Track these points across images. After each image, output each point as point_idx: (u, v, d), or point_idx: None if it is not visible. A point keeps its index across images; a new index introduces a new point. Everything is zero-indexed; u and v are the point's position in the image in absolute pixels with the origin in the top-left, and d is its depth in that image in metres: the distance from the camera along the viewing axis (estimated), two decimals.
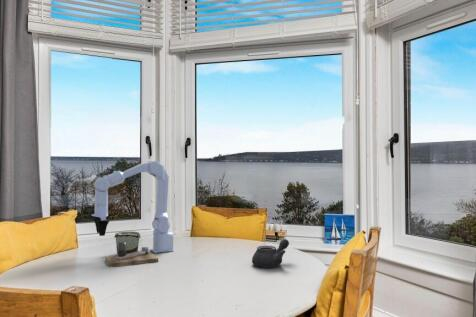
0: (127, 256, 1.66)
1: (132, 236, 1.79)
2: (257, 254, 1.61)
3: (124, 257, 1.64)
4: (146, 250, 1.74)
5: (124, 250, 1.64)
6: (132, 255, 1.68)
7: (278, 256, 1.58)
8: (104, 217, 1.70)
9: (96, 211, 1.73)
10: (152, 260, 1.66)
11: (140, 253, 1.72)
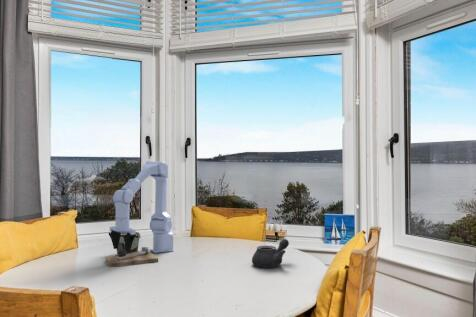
0: (127, 256, 1.66)
1: None
2: (257, 254, 1.61)
3: (124, 257, 1.64)
4: (146, 250, 1.74)
5: (124, 250, 1.64)
6: (132, 255, 1.68)
7: (278, 256, 1.58)
8: (134, 231, 1.61)
9: (120, 225, 1.62)
10: (152, 260, 1.66)
11: (140, 253, 1.72)
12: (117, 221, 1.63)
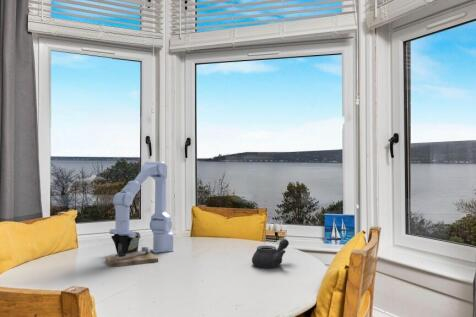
0: (127, 256, 1.66)
1: None
2: (257, 254, 1.61)
3: (124, 257, 1.64)
4: (146, 250, 1.74)
5: None
6: (132, 255, 1.68)
7: (278, 256, 1.58)
8: (134, 234, 1.61)
9: (120, 228, 1.62)
10: (152, 260, 1.66)
11: (140, 253, 1.72)
12: (117, 224, 1.63)
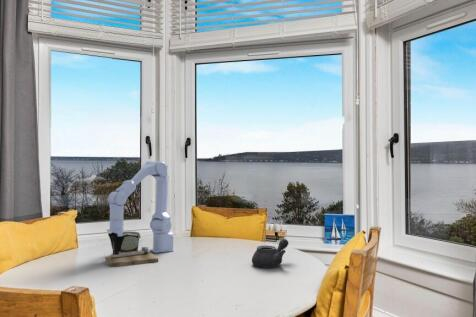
0: (121, 255, 1.68)
1: (132, 236, 1.79)
2: (257, 254, 1.61)
3: (118, 255, 1.67)
4: (145, 250, 1.74)
5: None
6: (127, 254, 1.70)
7: (278, 256, 1.58)
8: (121, 233, 1.63)
9: (112, 226, 1.67)
10: (152, 260, 1.66)
11: (137, 253, 1.72)
12: (110, 222, 1.68)
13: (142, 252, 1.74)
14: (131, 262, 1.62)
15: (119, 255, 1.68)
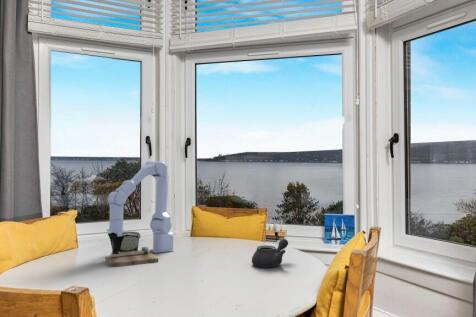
0: (121, 254, 1.69)
1: (132, 236, 1.79)
2: (257, 254, 1.61)
3: (117, 255, 1.68)
4: (145, 250, 1.74)
5: None
6: (127, 254, 1.70)
7: (278, 256, 1.58)
8: (120, 233, 1.63)
9: (111, 226, 1.67)
10: (152, 260, 1.66)
11: (137, 253, 1.73)
12: None
13: (142, 252, 1.74)
14: (131, 262, 1.62)
15: (118, 255, 1.69)
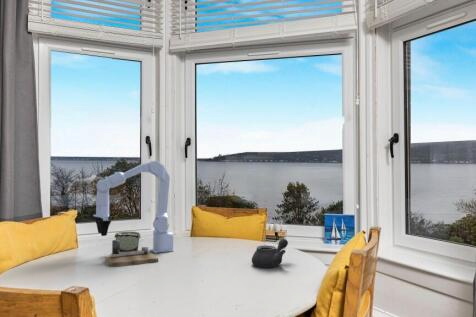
0: (121, 254, 1.69)
1: (132, 236, 1.79)
2: (257, 254, 1.61)
3: (117, 255, 1.68)
4: (145, 250, 1.74)
5: (116, 248, 1.68)
6: (127, 254, 1.70)
7: (278, 256, 1.58)
8: (106, 217, 1.73)
9: (98, 211, 1.77)
10: (152, 260, 1.66)
11: (137, 253, 1.73)
12: (96, 207, 1.78)
13: (142, 252, 1.74)
14: (131, 262, 1.62)
15: (118, 255, 1.69)
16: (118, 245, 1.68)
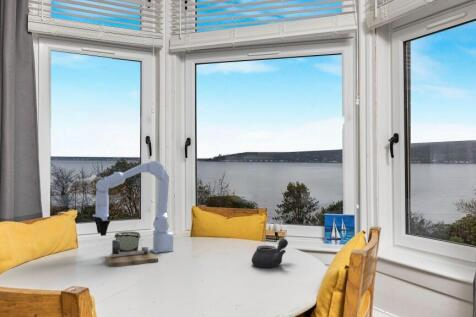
0: (121, 254, 1.69)
1: (132, 236, 1.79)
2: (257, 254, 1.61)
3: (117, 255, 1.68)
4: (145, 250, 1.74)
5: (116, 248, 1.68)
6: (127, 254, 1.70)
7: (278, 256, 1.58)
8: (105, 217, 1.74)
9: (97, 211, 1.77)
10: (152, 260, 1.66)
11: (137, 253, 1.73)
12: None
13: (142, 252, 1.74)
14: (131, 262, 1.62)
15: (118, 255, 1.69)
16: (118, 245, 1.68)
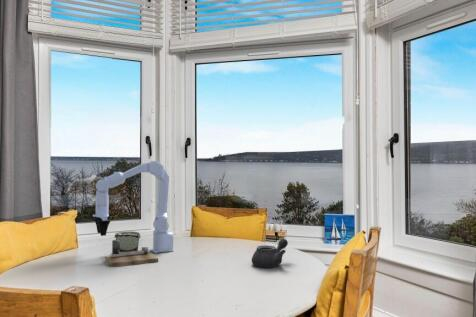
0: (121, 254, 1.69)
1: (132, 236, 1.79)
2: (256, 254, 1.61)
3: (117, 255, 1.68)
4: (145, 250, 1.74)
5: (116, 248, 1.68)
6: (127, 254, 1.70)
7: (278, 256, 1.59)
8: (105, 217, 1.74)
9: (97, 211, 1.77)
10: (152, 260, 1.66)
11: (137, 253, 1.73)
12: None
13: (142, 252, 1.74)
14: (131, 262, 1.62)
15: (118, 255, 1.69)
16: (118, 245, 1.68)
